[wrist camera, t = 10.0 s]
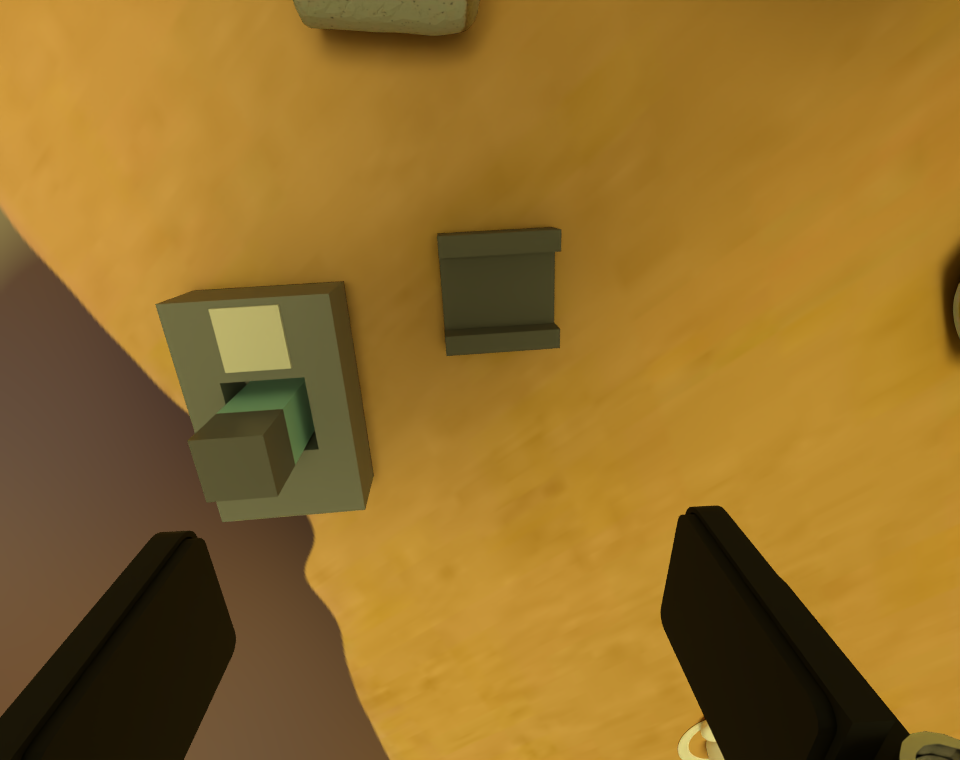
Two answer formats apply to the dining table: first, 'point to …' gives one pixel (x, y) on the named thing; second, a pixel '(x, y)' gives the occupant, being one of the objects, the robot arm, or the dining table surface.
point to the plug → (253, 441)
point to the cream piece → (711, 744)
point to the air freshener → (957, 309)
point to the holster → (499, 290)
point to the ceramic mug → (390, 15)
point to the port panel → (278, 355)
